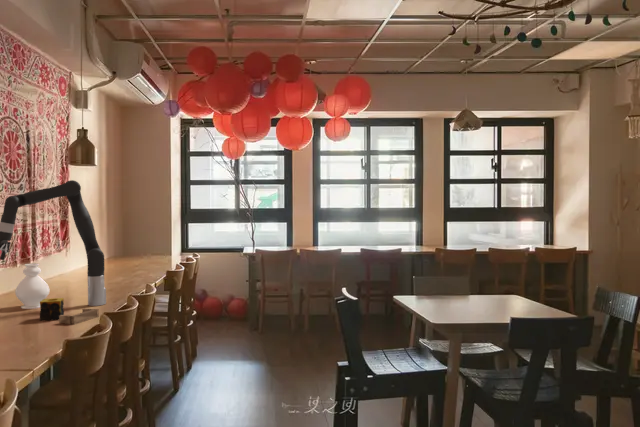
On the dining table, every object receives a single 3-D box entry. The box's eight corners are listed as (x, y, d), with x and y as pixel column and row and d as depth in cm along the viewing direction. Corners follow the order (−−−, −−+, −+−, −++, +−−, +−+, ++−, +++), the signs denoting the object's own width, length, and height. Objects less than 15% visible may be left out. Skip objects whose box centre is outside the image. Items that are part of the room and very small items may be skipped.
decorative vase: (41, 302, 344) (40, 261, 344) (55, 306, 333) (54, 263, 332) (10, 307, 331) (9, 264, 330) (23, 311, 319) (22, 266, 319)
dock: (59, 323, 286) (59, 315, 286) (84, 315, 305) (84, 308, 304) (74, 324, 284) (74, 316, 284) (98, 316, 302) (98, 309, 302)
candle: (39, 321, 292) (39, 301, 292) (43, 317, 302) (43, 298, 302) (60, 319, 295) (60, 300, 295) (64, 316, 305) (63, 297, 305)
